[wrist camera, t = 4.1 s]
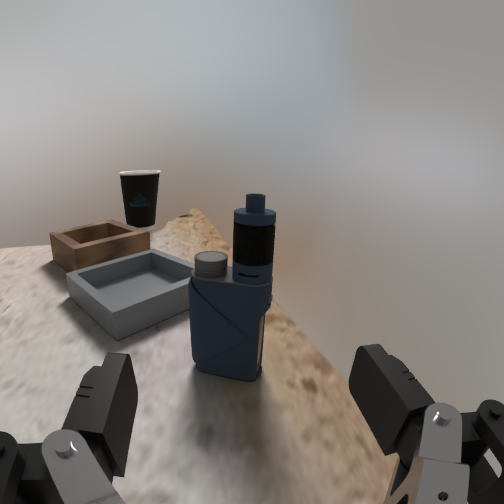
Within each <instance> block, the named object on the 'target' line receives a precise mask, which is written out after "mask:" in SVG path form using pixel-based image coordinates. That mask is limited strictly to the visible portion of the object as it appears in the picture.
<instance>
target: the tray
mask: <svg viewBox="0 0 504 504" xmlns="http://www.w3.org/2000/svg"><path fill="white" fill-rule="evenodd" d="M194 268H195V264H194V263H191V262H188V261H185V260H183V259H180V258H177V257H174V256H172V255H169V254H166V253H164V252H161V251H158V250H156V249H151V250H147V251H143V252H140V253H136V254H132V255H129V256H125V257H122V258H118V259H114V260H111V261H107V262H104V263H100V264H97V265H93V266H90V267H86V268H83V269H79V270H76V271H72V272H69V273H66V280H67V285H68V291H69V296H70V297H71V298H72V299H73V300H74V301H75V302H76V303H77V304H78V305H79V306H80V307H81V308H82V309H83V310H84V311H85V312H87V313H88V314H89V315H90V316H91V317H92V318H93V319H94V320H95V321H96V322H97V323H98V324H99V325H101V326H102V327H103V328H104V329H105V330H106V331H107V332H108V333H110V334H111V335H112V336H113V337H114V338H115V339H116V340H120V339H122V338H125V337H127V336H129V335H132V334H134V333H136V332H138V331H141V330H143V329H145V328H147V327H150V326H152V325H154V324H156V323H159V322H161V321H163V320H165V319H168V318H170V317H172V316H174V315H176V314H179V313H181V312H183V311H185V310H187V309H189V291H188V283H189V279H190V278H191V276H192V275H191V271H192V270H193V269H194Z"/></svg>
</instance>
